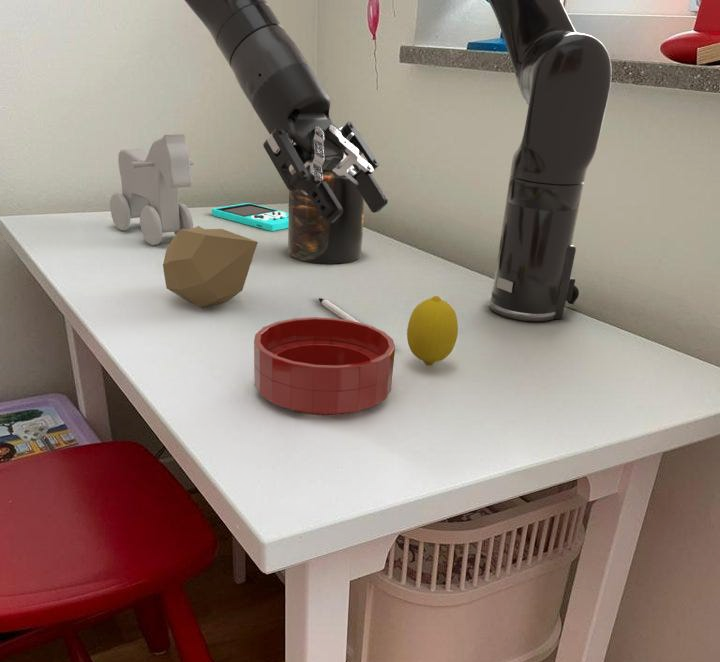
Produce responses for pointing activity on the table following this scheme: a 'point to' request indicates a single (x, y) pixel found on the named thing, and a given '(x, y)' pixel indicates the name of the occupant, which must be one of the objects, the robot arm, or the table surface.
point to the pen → (336, 310)
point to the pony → (154, 188)
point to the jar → (326, 224)
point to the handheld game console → (254, 216)
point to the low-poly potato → (207, 265)
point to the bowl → (323, 365)
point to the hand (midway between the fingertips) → (359, 213)
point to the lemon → (432, 330)
